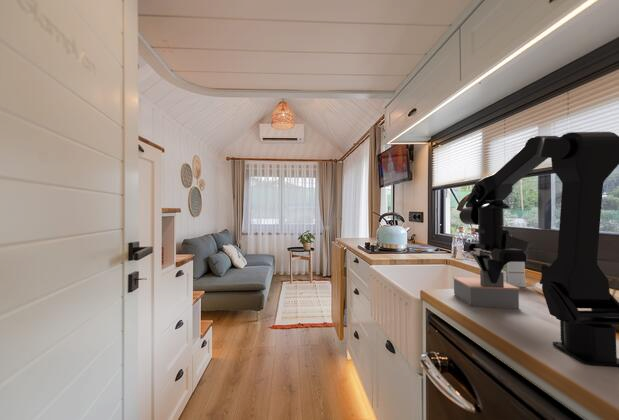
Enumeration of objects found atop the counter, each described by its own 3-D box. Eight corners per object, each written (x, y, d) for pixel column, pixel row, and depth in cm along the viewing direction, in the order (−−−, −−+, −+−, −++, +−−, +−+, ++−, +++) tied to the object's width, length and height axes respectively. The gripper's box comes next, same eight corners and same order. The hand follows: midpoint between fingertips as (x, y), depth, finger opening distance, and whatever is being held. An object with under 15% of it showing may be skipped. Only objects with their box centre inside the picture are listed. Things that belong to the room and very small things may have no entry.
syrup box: (526, 287, 85) (525, 245, 86) (507, 286, 86) (506, 245, 87) (516, 283, 91) (515, 243, 91) (498, 282, 92) (497, 243, 92)
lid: (519, 289, 66) (519, 273, 66) (470, 288, 67) (469, 271, 67) (495, 279, 76) (495, 265, 76) (452, 278, 77) (452, 264, 78)
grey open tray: (518, 308, 66) (518, 289, 66) (470, 306, 67) (470, 287, 67) (495, 296, 76) (495, 280, 76) (454, 294, 77) (453, 278, 77)
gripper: (551, 227, 58) (553, 294, 57) (500, 224, 76) (501, 275, 76) (500, 227, 59) (501, 292, 59) (462, 224, 78) (463, 274, 77)
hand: (491, 282), depth 68 cm, fingers closed on lid, 2 cm apart
